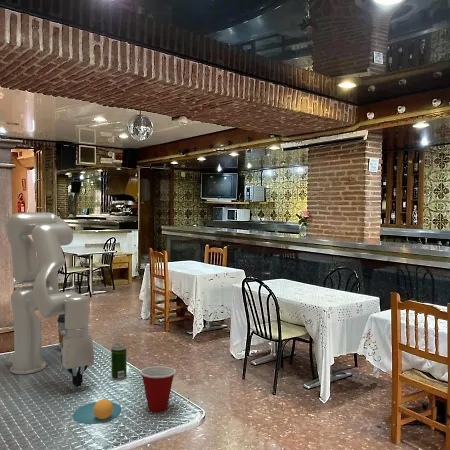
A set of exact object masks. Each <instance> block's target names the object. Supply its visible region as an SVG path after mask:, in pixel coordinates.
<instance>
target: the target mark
mask: <svg viewBox="0 0 450 450" xmlns="http://www.w3.org/2000/svg"><path fill="white" fill-rule="evenodd" d="M97 402H98V401H95V402H89V403H86V404H83V405H81V406H79V407H78V408H77V409H75V411H74V412H73V414H72V418H73V420H74V421H75V422H77V423H81V424H86V425H96V424H97V425H98V424H102V423H107V422H109V421H112V420H115V418H118V416H119V415H121V412H122V406H121V405H120V404H118V403H116V402H113V401H110V402H111V403H112V405H113V411H112V414H111V415H110V416H109V417H108V418H107V419H103V420H102V419H98V418H97V417H96V416H95V415H94V411H93V410H94V406H95V404H96V403H97Z"/></svg>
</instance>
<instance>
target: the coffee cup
mask: <svg viewBox="0 0 450 450" xmlns="http://www.w3.org/2000/svg"><path fill="white" fill-rule="evenodd" d="M57 328H58V329H57V332H58V342H59V349H60V350H61V347H62V341H63V337H65V335H61V331H63V330H64V328H65V314H62V315H58V317H57Z"/></svg>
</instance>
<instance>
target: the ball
mask: <svg viewBox="0 0 450 450" xmlns="http://www.w3.org/2000/svg"><path fill="white" fill-rule="evenodd" d="M96 402H97V403H96V404H95V406H94V410H93V411H94V415H95V416H96V417H97V418H98V419H102V420H103V419H107V418H108V417H109V416H110V415H111V414H112V411H113V405H112V403H111V402H112V401H110V399H106V398H103V399H100V400H98V401H96Z"/></svg>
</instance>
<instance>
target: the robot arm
mask: <svg viewBox="0 0 450 450" xmlns="http://www.w3.org/2000/svg"><path fill="white" fill-rule="evenodd" d="M5 225H6V226H5V231H6V236H7V239H8V242H9V243H10V249H11V250H10V251H11V261H12V262H11V263H12V274H13V278H14V281H15V282H17V283H19V284H29V283H34V284H33V285H29V286H22V287H18V288H17V289H15V290H14V291H13V292H11V294H10V305H11V310H12V315H13V317H12V318H13V341H14V342H13V343H14V345H13V346H14V347H13V348H14V353H13V355H12V354H11V355H9V358H7V362H8V363H12V365H11V366H10V368H9V369H10V370H9V371H10V373H12V374H15V375H29V374H35V373H38V372H41V371H43V370H44V369H46V367H47V362H46V361H44V360H43V357H42V356H43V353H42V351H43V349H42V348H43V347H42V321H41V319H40V317H39V316H38V314H37V313H36V311H38V312H39V314H40V315H41V317H44V318H52V317H57V316H58V317H59V315H62V314H65V328H64V330H63V331H61V335H65V337H63V341H62V347H61V349H60V364H61V366H60V371H61V372H62V373H70V374H71V378H72V379H71V382H72V385H73V386H74V387H76V388H78V387H82V384H83V376H84V374H85V371H86V370H87V369H88V368H90V367H92V366H94V362H95V352H94V343H93V337H92V334H91V333H89V332H90V330H89V298H88V296H87V295H84V294H79V293H78V292H76V291H72V290H71V291H70V290H69V291H63V292H60V290H59V288H60V287H59V277H58V276H59V275H58V271H59V270H61V268H63V267H64V266H65V264H66V258H65V256H64V253H63V249H62V246H68V245H71V243H73V240H74V232H73V230H72V227H71V226H70V225H69V224H68V223H67V222H66V221H65V220H64V219H62V218H61V217H59V216H58V215H56V214H55V213H53V212H45V211H44V212H43V211H42V212H34V211H33V212H32V211H31V212H28V211H25V212H17V213H14V214H11V215H10V216H9V217H8V218H7V220H6V224H5ZM30 236H31V237H30Z"/></svg>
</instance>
